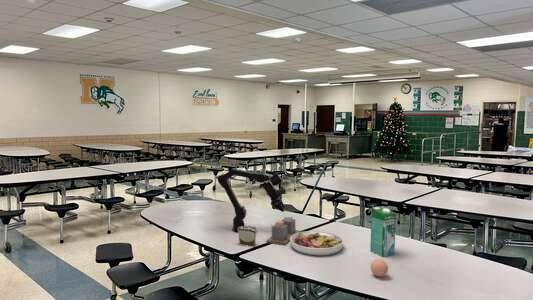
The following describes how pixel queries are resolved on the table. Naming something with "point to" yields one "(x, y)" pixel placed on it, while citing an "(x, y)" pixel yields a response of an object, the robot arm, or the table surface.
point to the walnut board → (282, 241)
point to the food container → (247, 235)
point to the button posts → (283, 230)
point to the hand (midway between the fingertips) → (283, 209)
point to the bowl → (316, 242)
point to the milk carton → (382, 231)
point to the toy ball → (379, 267)
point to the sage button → (287, 218)
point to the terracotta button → (279, 223)
